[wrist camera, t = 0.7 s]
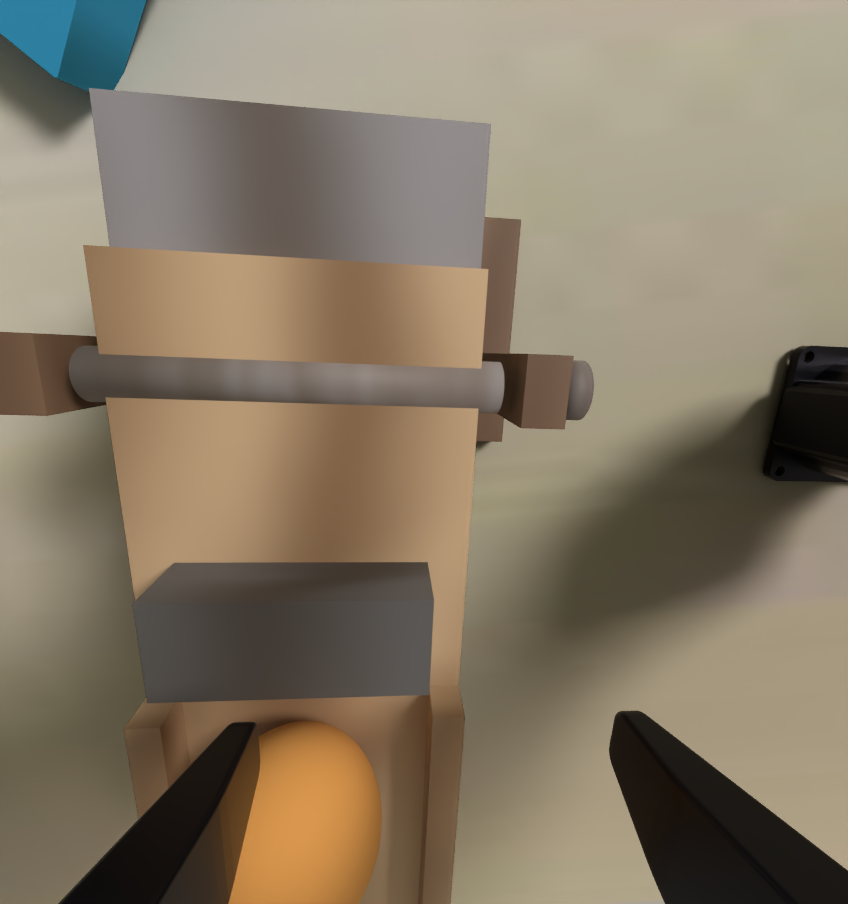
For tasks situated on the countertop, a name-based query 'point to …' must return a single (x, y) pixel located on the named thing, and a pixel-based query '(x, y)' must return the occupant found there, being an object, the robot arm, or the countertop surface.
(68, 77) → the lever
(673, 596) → the countertop surface
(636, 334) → the countertop surface
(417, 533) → the tipping lever
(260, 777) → the ball
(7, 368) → the lever stand
